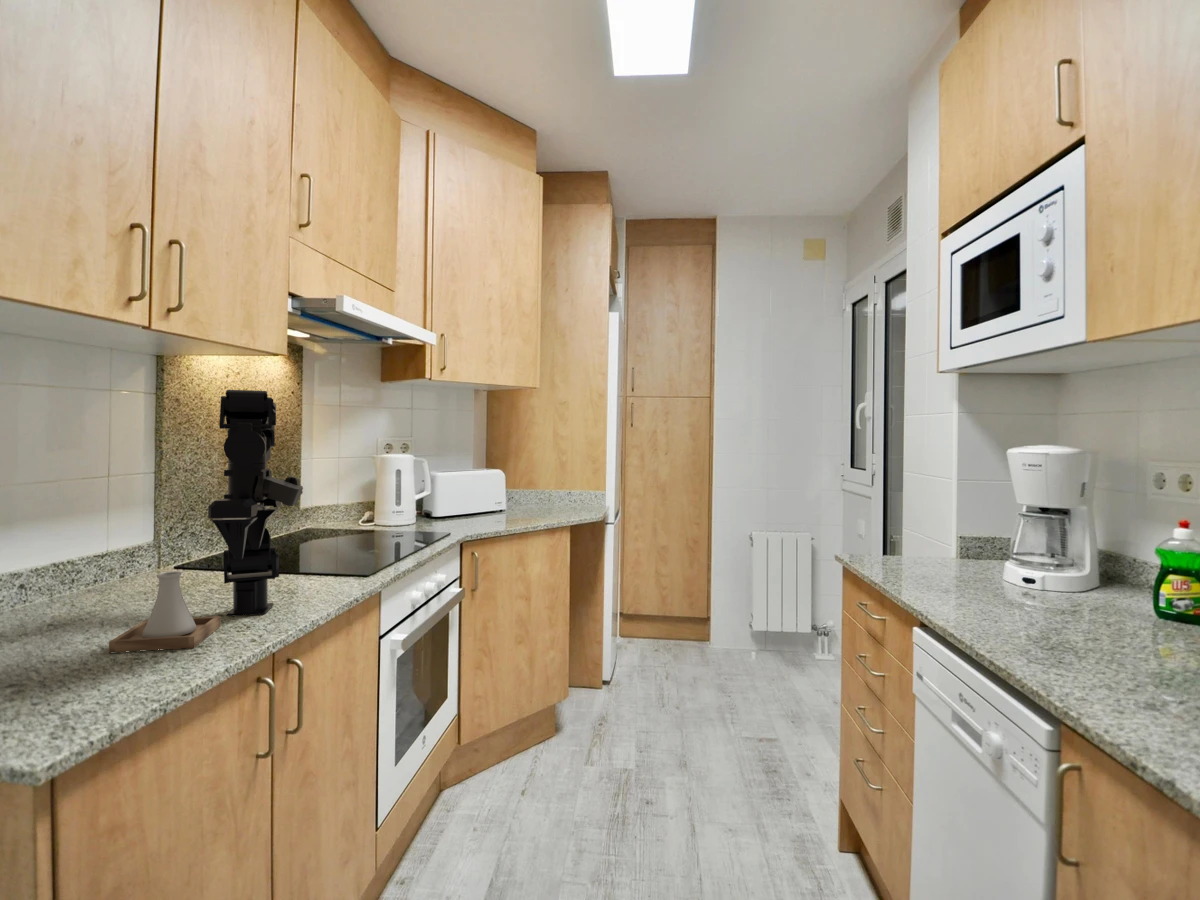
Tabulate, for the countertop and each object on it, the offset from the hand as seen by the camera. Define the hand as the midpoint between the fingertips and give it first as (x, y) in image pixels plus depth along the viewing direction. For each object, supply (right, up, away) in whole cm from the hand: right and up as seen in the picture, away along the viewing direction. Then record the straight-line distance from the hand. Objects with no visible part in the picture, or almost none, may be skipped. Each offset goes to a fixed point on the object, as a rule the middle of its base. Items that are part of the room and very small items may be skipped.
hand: (247, 554), depth 108 cm
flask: (-10, -13, -5) cm, 17 cm away
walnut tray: (-10, -13, -5) cm, 17 cm away
